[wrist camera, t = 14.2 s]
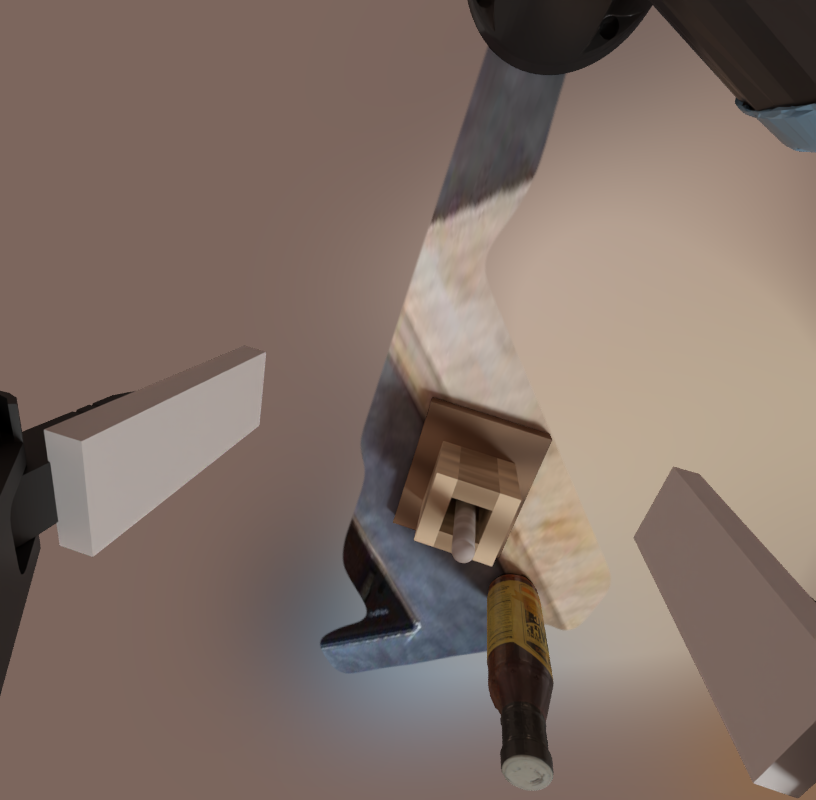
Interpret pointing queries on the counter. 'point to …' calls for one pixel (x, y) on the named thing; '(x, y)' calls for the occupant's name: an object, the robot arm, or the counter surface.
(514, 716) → the sauce bottle
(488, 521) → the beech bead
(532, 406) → the counter surface
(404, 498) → the rod stand
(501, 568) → the counter surface
